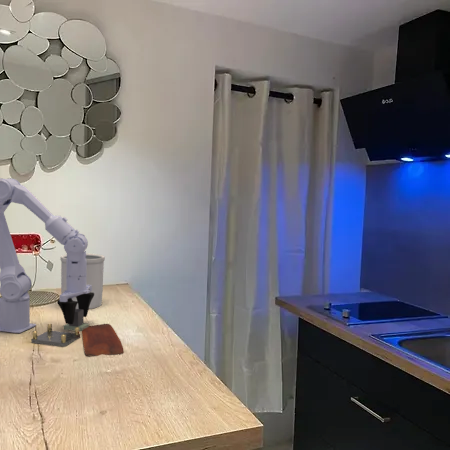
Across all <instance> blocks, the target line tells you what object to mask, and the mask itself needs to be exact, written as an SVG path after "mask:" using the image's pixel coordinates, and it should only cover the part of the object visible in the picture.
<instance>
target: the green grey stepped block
mask: <svg viewBox="0 0 450 450" xmlns="http://www.w3.org/2000/svg"><path fill="white" fill-rule="evenodd" d="M84 318H85V317H84V310H82V309H75V314H74V322H73V324H66V323H65V324H64V325H63V330H67V331H74V332H75V327H79V332H81V331H82V330H84V329H85V328H87V327H89V326H90V324H89V323H85V322H84Z"/></svg>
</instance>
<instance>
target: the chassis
mask: <svg viewBox="0 0 450 450" xmlns="http://www.w3.org/2000/svg"><path fill="white" fill-rule="evenodd" d="M46 325H47V326H46V327H47V328H46V331H45V332H42V333H40V334H39V335H38V330H33V331H32V338H31V339H30V340H31V342H30V343H32V344H36V345H37V344H39V345H46V346H52V347H54V346H55V347H61V348H66V347H67V346H68V345H70V344H71V343H74V342H75V341H77V340H79V339H80V338H81V333H80V331H79V327H75V331H74V332H65V331H57V330H53V324H52V323H47V324H46Z"/></svg>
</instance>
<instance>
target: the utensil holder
mask: <svg viewBox="0 0 450 450" xmlns="http://www.w3.org/2000/svg"><path fill="white" fill-rule="evenodd" d="M105 257H106V256H104V255H102V254H98V253H89V252H86V260H87V278H86V285H92V291H91V293H94V297H93V298H92V300H91V303H90V306H89V309H88V310H91V309H96V308H99V307H100V306H101V305H102V303H103V290H104V289H103V287H104V268H105V266H104V265H105V264H104V263H105V262H104V261H105ZM59 260H60V262H61V267H60V268H61V269H60V271H61V272H60V274H61V275H60V277H61V278H60V282H61V285H60V286H61V287H60V289H61V292H60V295H61V294H62V293H63V292H64V291H65V290H66V260H67V253H65V254H62V255H60V259H59ZM72 300H73V301H77V298H76V297H74V298H72ZM76 309H79V308H78V303H77V306H76Z"/></svg>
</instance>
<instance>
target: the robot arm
mask: <svg viewBox="0 0 450 450" xmlns="http://www.w3.org/2000/svg"><path fill="white" fill-rule="evenodd" d="M11 203H15V204H19V205H23V206H24V207H25V208H26V209H28V210H29V211H30V212H31V213H32V214H34V215H35V216H36V217H37V218H38V219H39V220H41V221H42V222H43V223H44V226H45V227H44V228H45V231H46V232H47V233H49V235H51V236H52V237H53V238H54V239H55V240H56V241H57V242H59V244H61V245H63V249H64V251H65V254H67V260H66V290H65V291H64V292H63V293H62V294H61V293H60V294H59V299H58V300H57V305H58V306H59V308H60V310H61V312H62V314H63V315H62V316H63V318H64V322H65V323H64V324H65V325H66V324H73V322H74V314H75V309H76V306H77V303H78V308H79V309H82V310H84V318H86V317H88V314H89V310H90V309H89V306H90V303H91V300H92V298H93V297H94V293H91V291H92V285H86V278H87V260H86V253H87V251H86V250H87V248H88V246H89V241H88V239H87V236H86V235H85V234H83V233H80V230H79V229H75V228H74V227H73V226H72V225H71V224H70V223H68V222H67V221H68V219H67V217H65V216H61V215H54V214H53V213H52V212H50V210H49V209H48V208H47V207H46V206H45V205H44V204H43V203H42V202H41V201H40V200H39V199H38V198H37V197H36V196H35V195H34V194H33V193H32V192H31V191H30V190H29V189H28V187H26V186H25V185H23V184H21V183H20V181H19V180H18V179H16V178H13V177H11V178H10V177H9V178H1V177H0V295H1V297H0V332H6V333H7V332H8V333H16V334H21V333H23V332H26V331H27V330H30V329H33V328H34V327H36V326H37V323H31V320H30V319H31V318H30V314H31V313H30V312H31V311H30V309H31V308H30V306H31V305H30V301H31V300H30V297H31V296H30V294H29V291H30V289H31V288H32V279H31V278H30V276H29V275H28V274H27V273H26V271H25V268H24V267H23V266H22V265H21V264H20V260H19V257H18V254H17V250H16V247H15V245H14V242H13V238H12V235H11V231H10V228H9V226H8V225H9V224H8V223H7V220H6V215H5V212H6V210H7V209H8V207H9V206H10V204H11ZM74 297H76V298H77V301H73V300H72V298H74Z"/></svg>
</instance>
